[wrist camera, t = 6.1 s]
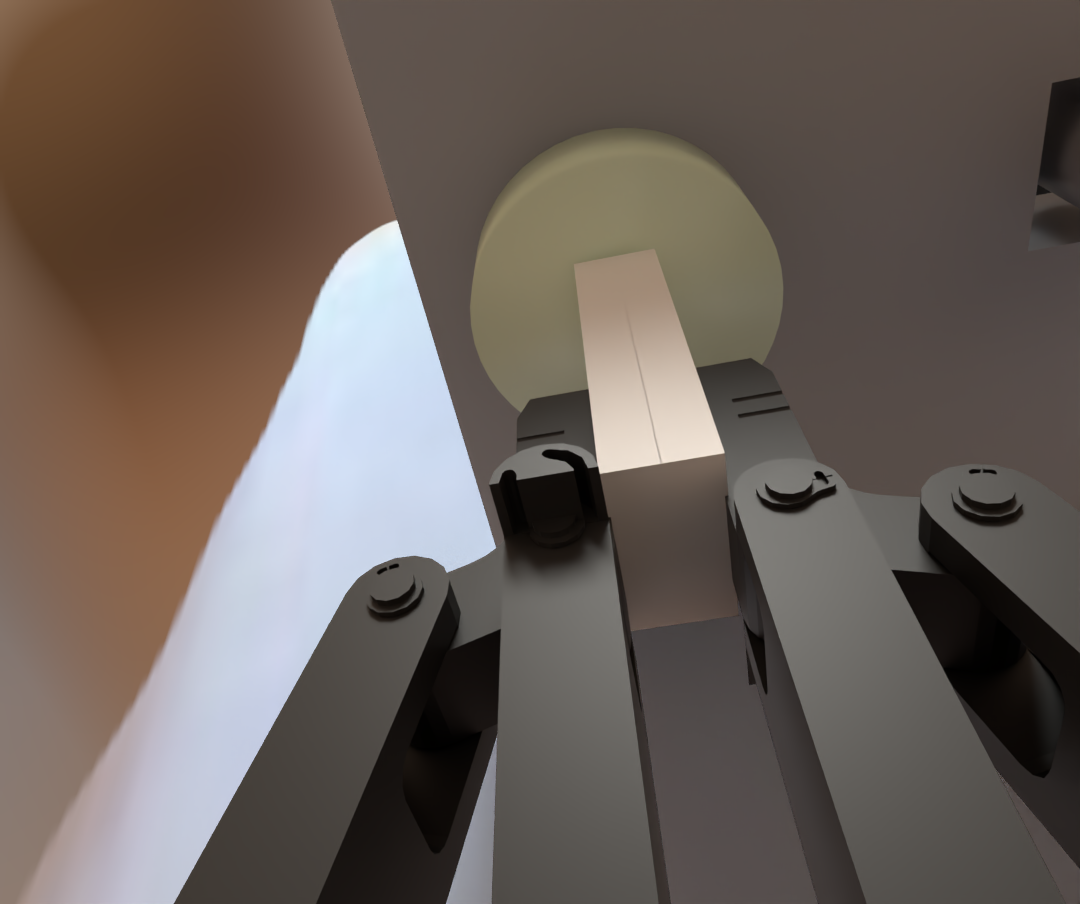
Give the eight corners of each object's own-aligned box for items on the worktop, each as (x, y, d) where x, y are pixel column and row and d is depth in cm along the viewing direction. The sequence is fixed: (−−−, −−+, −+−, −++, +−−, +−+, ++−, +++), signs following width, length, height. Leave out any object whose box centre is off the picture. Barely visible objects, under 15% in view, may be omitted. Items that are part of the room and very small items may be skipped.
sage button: (513, 301, 25) (465, 92, 22) (713, 263, 24) (695, 42, 21) (507, 465, 18) (434, 194, 15) (787, 418, 17) (777, 123, 14)
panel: (519, 555, 28) (310, -183, 16) (1151, 456, 26) (1401, -464, 14) (518, 621, 25) (272, -194, 14) (1218, 518, 23) (1581, -535, 12)
